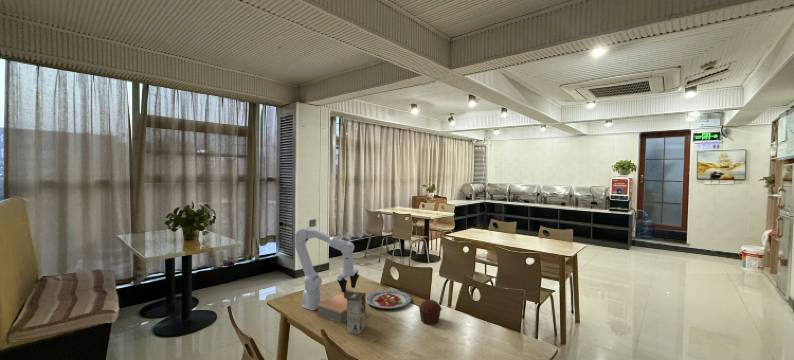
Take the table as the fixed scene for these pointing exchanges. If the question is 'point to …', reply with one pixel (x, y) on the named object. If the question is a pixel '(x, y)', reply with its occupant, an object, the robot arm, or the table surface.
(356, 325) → the coffee box
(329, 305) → the lid
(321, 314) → the box
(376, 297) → the ceramic plate
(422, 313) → the muffin
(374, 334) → the table surface
